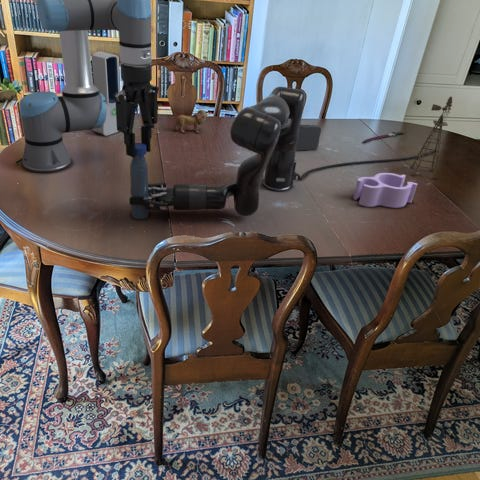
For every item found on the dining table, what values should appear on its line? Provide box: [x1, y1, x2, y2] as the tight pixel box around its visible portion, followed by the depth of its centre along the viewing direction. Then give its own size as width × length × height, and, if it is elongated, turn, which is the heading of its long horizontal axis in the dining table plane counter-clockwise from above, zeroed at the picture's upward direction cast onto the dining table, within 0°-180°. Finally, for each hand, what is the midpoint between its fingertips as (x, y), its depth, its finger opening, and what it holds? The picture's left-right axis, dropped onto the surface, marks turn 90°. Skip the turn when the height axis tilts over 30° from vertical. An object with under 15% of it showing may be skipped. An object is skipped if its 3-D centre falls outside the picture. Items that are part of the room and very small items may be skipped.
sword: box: [363, 131, 407, 144], centre depth 214 cm, size 31×3×1 cm, turn 126°
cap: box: [135, 142, 147, 156], centre depth 126 cm, size 4×4×2 cm
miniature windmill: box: [410, 96, 453, 179], centre depth 175 cm, size 9×8×30 cm
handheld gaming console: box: [296, 124, 322, 151], centre depth 189 cm, size 23×3×10 cm, turn 108°
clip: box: [352, 172, 418, 209], centre depth 158 cm, size 20×12×7 cm, turn 109°
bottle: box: [129, 155, 150, 220], centre depth 131 cm, size 5×5×21 cm
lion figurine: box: [171, 109, 207, 134], centre depth 196 cm, size 15×5×9 cm, turn 110°
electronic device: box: [91, 51, 121, 137], centre depth 182 cm, size 12×8×30 cm, turn 148°
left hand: (138, 152), depth 126 cm, fingers open, 5 cm apart
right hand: (130, 196), depth 133 cm, fingers closed on bottle, 5 cm apart
